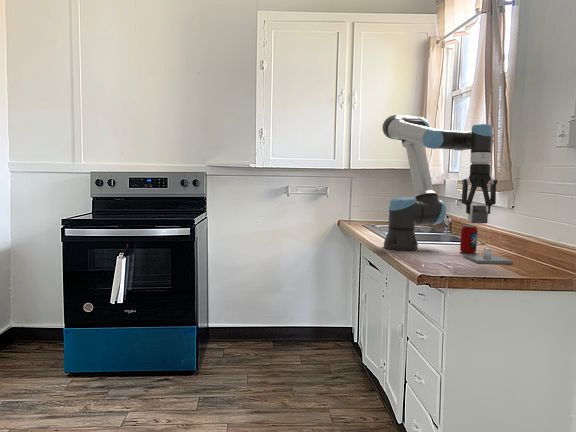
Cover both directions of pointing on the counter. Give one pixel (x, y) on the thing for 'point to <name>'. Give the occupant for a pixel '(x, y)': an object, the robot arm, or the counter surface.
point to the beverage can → (468, 239)
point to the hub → (487, 258)
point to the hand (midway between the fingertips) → (477, 221)
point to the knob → (479, 214)
